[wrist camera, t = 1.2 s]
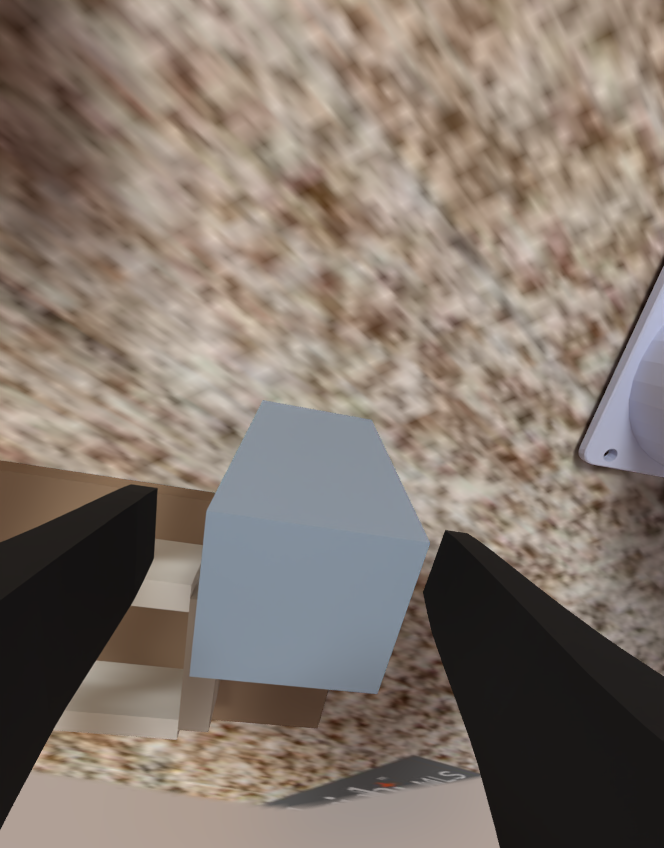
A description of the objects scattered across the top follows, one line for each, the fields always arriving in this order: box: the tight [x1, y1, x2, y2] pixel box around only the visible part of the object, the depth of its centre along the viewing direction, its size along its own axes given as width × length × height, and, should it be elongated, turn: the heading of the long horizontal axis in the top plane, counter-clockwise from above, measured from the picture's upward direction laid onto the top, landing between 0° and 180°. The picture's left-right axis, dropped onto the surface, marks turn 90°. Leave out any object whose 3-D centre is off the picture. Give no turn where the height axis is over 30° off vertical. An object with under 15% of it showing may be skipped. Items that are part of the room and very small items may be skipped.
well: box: [0, 461, 328, 740], centre depth 14 cm, size 16×12×3 cm
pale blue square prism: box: [189, 400, 430, 694], centre depth 10 cm, size 4×4×7 cm
